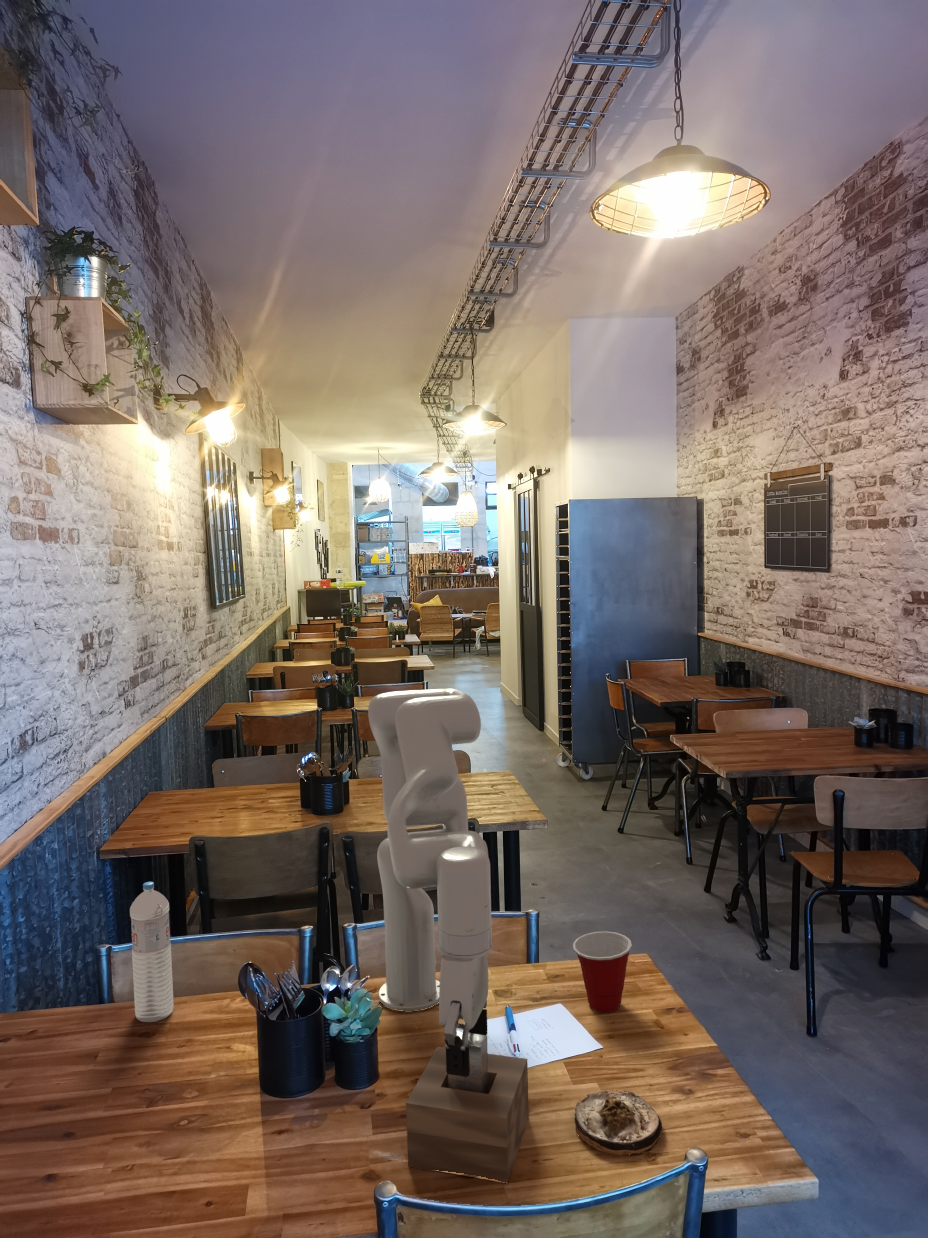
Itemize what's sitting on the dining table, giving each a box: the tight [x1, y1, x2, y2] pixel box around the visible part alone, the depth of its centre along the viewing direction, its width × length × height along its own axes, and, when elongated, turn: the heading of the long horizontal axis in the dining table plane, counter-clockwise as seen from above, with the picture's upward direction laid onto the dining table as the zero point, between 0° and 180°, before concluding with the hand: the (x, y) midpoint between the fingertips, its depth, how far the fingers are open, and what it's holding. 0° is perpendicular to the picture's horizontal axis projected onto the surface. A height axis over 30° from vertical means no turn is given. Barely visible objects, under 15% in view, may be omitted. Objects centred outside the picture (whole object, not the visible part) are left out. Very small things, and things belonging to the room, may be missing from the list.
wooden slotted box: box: [405, 1046, 530, 1183], centre depth 120 cm, size 14×14×9 cm
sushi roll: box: [574, 1089, 663, 1156], centre depth 122 cm, size 15×15×4 cm
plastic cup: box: [572, 931, 632, 1014], centre depth 156 cm, size 11×11×12 cm
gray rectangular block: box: [448, 1030, 489, 1094], centre depth 119 cm, size 3×5×10 cm, turn 72°
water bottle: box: [129, 881, 174, 1023], centre depth 157 cm, size 7×7×25 cm
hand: (467, 1054), depth 120 cm, fingers open, 9 cm apart
